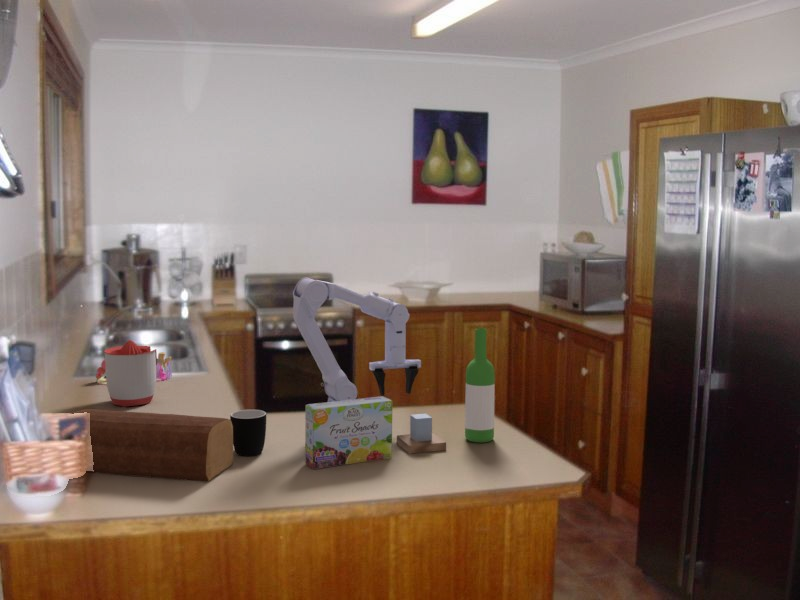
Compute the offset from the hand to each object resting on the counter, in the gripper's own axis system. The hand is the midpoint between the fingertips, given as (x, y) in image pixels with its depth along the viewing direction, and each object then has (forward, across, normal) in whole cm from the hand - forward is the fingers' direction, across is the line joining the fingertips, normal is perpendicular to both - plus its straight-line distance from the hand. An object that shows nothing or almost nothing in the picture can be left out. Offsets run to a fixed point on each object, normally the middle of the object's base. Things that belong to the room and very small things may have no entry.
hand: (395, 394), depth 240 cm
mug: (+10, -43, -9) cm, 45 cm away
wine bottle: (+10, +18, -17) cm, 27 cm away
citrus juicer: (+10, -68, +54) cm, 88 cm away
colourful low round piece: (+10, -67, +91) cm, 114 cm away
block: (+8, +1, -18) cm, 20 cm away
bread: (+10, -67, -14) cm, 69 cm away
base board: (+10, +1, -18) cm, 21 cm away
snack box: (+10, -20, -25) cm, 33 cm away
